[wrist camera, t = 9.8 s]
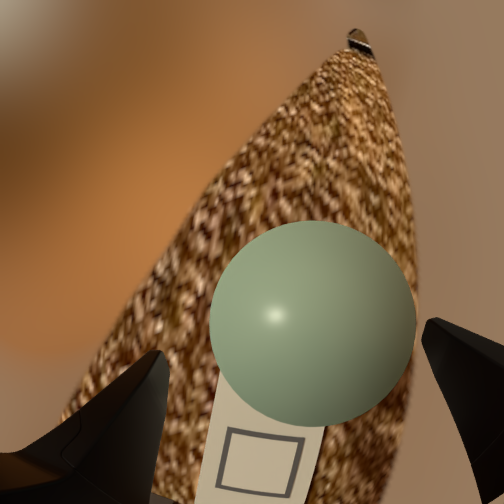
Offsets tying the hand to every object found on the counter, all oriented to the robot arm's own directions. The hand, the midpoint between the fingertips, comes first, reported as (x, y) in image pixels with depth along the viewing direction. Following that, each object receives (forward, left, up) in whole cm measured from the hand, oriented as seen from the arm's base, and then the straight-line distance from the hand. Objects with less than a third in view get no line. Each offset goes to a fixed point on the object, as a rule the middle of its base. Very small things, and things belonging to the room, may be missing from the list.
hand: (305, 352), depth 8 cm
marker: (+1, 0, -10) cm, 10 cm away
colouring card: (-4, +2, -10) cm, 11 cm away
